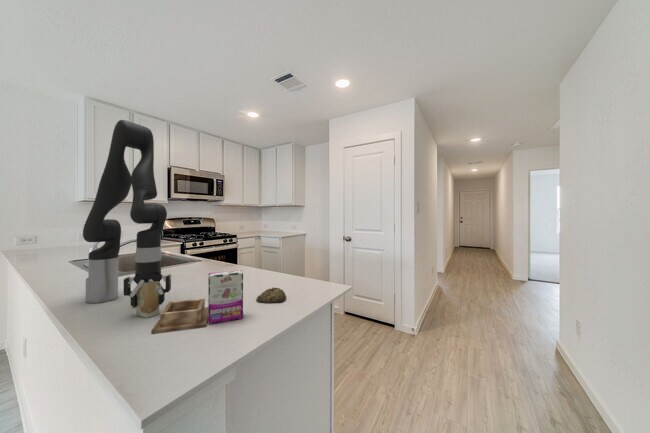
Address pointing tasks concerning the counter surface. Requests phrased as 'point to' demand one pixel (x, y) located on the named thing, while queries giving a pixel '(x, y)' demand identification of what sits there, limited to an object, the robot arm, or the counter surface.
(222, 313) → the candy bar box
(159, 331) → the walnut stand
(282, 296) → the bread roll
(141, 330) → the counter surface
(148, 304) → the skincare box
